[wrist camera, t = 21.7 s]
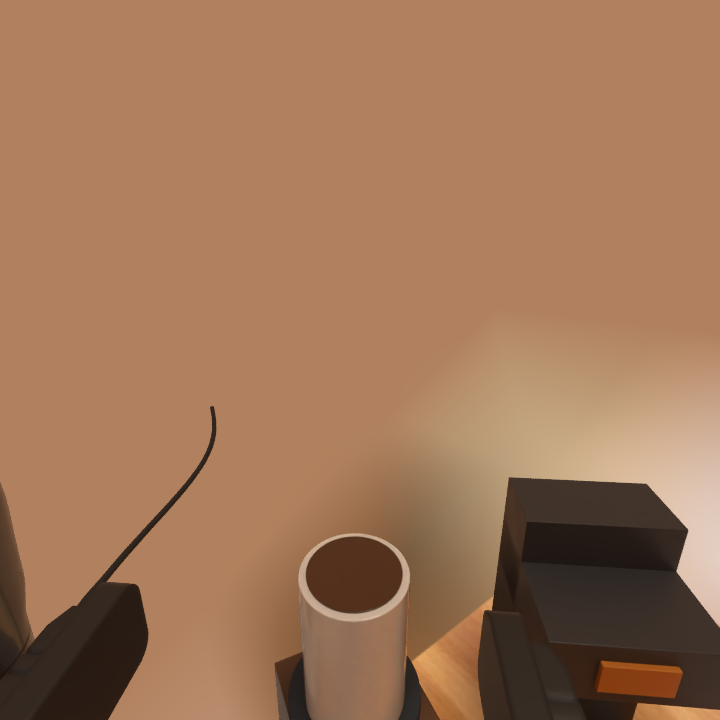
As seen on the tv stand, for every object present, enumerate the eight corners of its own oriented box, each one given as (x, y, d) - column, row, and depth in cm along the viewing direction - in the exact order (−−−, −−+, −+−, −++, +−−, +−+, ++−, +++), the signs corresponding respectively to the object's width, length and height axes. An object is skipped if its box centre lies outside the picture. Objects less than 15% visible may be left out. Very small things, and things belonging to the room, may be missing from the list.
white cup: (293, 664, 28) (285, 549, 25) (377, 629, 30) (379, 520, 27) (324, 768, 23) (319, 638, 20) (423, 716, 25) (432, 593, 22)
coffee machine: (695, 898, 31) (804, 656, 24) (524, 878, 32) (576, 639, 25) (599, 675, 47) (646, 483, 39) (484, 666, 48) (508, 477, 40)
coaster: (274, 662, 29) (273, 656, 28) (383, 618, 32) (383, 612, 31) (312, 806, 22) (312, 798, 21) (447, 731, 25) (448, 724, 25)
